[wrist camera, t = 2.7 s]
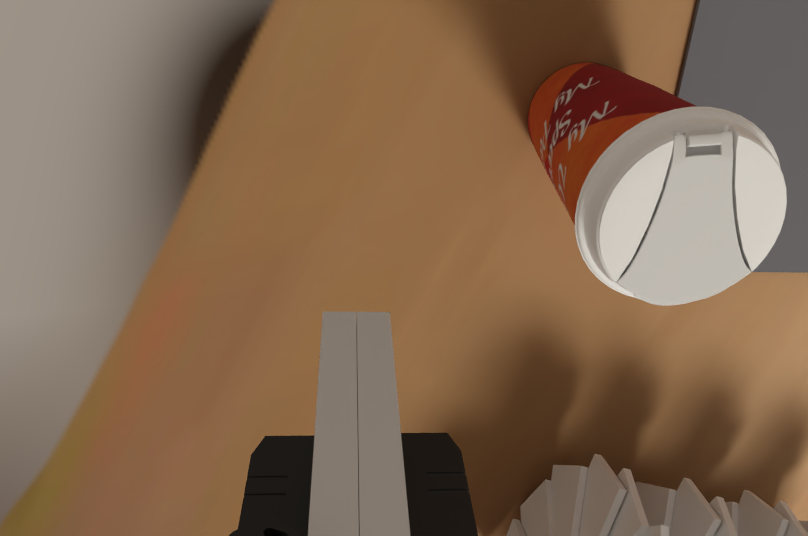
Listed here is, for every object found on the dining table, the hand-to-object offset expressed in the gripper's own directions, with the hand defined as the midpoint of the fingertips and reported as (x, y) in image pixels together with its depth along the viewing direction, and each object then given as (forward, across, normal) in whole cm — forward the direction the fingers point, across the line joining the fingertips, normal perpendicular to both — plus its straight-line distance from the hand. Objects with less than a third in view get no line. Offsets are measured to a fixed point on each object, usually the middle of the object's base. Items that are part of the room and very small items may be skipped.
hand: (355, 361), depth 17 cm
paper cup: (+23, +12, 0) cm, 25 cm away
